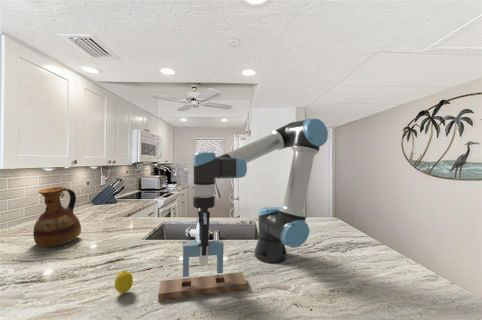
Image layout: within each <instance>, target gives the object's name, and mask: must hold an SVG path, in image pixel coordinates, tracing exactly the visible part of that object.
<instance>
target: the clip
mask: <svg viewBox="0 0 482 320" xmlns="http://www.w3.org/2000/svg"><path fill="white" fill-rule="evenodd" d="M200 243H201V242H199V241H193V242H182V278H190V277H189V276H190V275H189V274H190V273H189V271H190V258H199V256H200V246H199V247H198V244H200ZM208 243H209V245H208V257H210V256H216V275H220V274H224V241H223V240H222V239H219V240H208Z"/></svg>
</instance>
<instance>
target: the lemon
mask: <svg viewBox="0 0 482 320" xmlns="http://www.w3.org/2000/svg"><path fill="white" fill-rule="evenodd" d="M133 284H134V283H133V275H132V273H131V272H130V271H128V270H122V271H121V272H119V273H118V274H117V275H116V277H115V280H114V287H115V290H116V292H117V293H120V294H123V295H124V294H126V293H127V292H129V291H130V290H131V288H132V286H133Z"/></svg>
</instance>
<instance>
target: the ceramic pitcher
mask: <svg viewBox="0 0 482 320" xmlns="http://www.w3.org/2000/svg"><path fill="white" fill-rule="evenodd" d="M63 192H68V194H69V203H68V205H67V207H64V206H62V203H61V194H62V193H63ZM38 193H39V194H40V195H42V196H43V198H44V204H45V210H44V212H43V213H41V214H40V216H39V217H38V218H37V219H36V221H35V223H34V226H33V234H32V235H33V240H34V242H35V244H36V245H37V246H38V247H54V246H59V245H63V244H66V243H68V242H70V241H72V240H75V239H76V238H78V237H79V236H80V235H81V233H82V225H81V223H80V219H79V217H78V216H77V215H76V214H75V213H74V208H75V204H76V201H77V195H76V193H75V191H74V190H72V189H71V188H67V187H64V186H56V187H55V186H53V187H50V188H49V187H48V188H44V189H40V190H39V191H38Z"/></svg>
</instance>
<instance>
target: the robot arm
mask: <svg viewBox="0 0 482 320" xmlns="http://www.w3.org/2000/svg"><path fill="white" fill-rule="evenodd" d="M328 132H329V130H328V128H327V126H326V124H325V123H324V122H323V121H322V120H321V119H319V118H307V119H303V120H297V121H292V122H289V123H288V124H285V125H283V126H281V127H279V128H277V129H274V130H273V131H272V132H270V134H268V135H266V136H264V137H262V138H260V139H257V140H254V141H251V142H250V143H247V144H245V145H243V146H241V147H238V148H236V149H233V150H230V151H228V152H226V153H224V154H221V155H218V156H216V153H215V152H212V151H211V152H208V151H207V152H205V151H203V152H201V151H199V152H195V153H194V156H193V164H192V166H193V186H191V190H193V195H194V196H193V198H192V200H193V201H192V206H193V208H195V209H199V210H198V211H197V216H198V225H199V230H198V231H199V232H198V233H199V234H198V236H199V241H198V242H201V243H200V244H198V247H199V246H200V256H199V257H198V259H199V265H208V264H209V256H208V245H209V243H208V241H210V240H209V237H210V236H209V233H210V230H209V228H210V227H209V226H210V217H211V213H210V210H208V209H212V208H214V207H215V205H216V204H215V201H216V200H215V199H216V197H215V194H216V179H239V178H244V177H245V176H246V175H247V171H248V165H247V164H248V163H251V162H252V161H254V160H256V159H258V158H261V157H263V156H265V155H268V154H270V153H271V152H274V151H276V150H278V151H281V150H284V149H286V148H291V149H292V151H293V157H292V161H291V164H290V165H291V166H290V170H289V175H288V180H287V185H286V191H285V195H284V199H283V204H282V206H266V207H265V206H264V207H262V208H260V209H259V210H258V216H257V217H258V237H257V239H258V240H257V242H256V245H255V248H254V257H255V259H257V260H258V261H261V262H265V263H268V264H269V263H270V264H271V263H272V264H275V263H277V264H278V263H281V262H283V261H285V260H286V259H287V256H288V255H287V254H288V253H287V249H286V246H288V247H290V248H299V247H301V246H302V245H304V244H305V243H306V241H307V240H308V239H309V238H308V237H309V234H310V227H309V225H308V223H307V222H306V218H307V214H306V213H305V211H304V209H305V205H306V199H307V195H308V194H307V193H308V190H309V189H308V188H309V183H310V179H311V173H312V171H313V170H312V169H313V164H314V159H315V156H316V155H317V154H319V151H320V148H321V147H322V146H324V145H325V144H326V142H327V141H328V138H329V133H328Z"/></svg>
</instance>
